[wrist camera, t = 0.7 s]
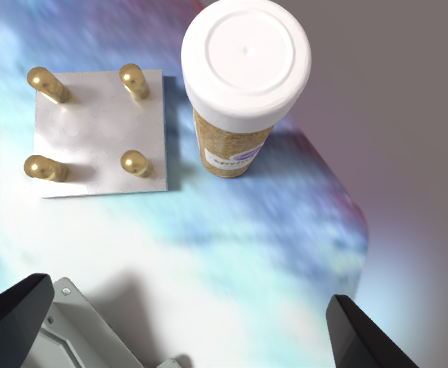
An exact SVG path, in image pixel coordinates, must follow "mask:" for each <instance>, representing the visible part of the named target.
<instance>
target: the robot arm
mask: <svg viewBox="0 0 448 368" xmlns="http://www.w3.org/2000/svg"><path fill="white" fill-rule="evenodd" d="M54 296H55V290H54V287H53V284H52V281H51V278H50V276H49V275H48V274H44V273H34V274H31V275H30V276H28V277H27V278H25V279H23V280H22V281H20V282H19V283H17V284H15V285H14V286H12V287H11V288H9V289H7V290H6V291H4V292H3V293H1V294H0V368H21V366H22V364H23V362H24V361H25V359H26V357H27V355H28V353H29V352H30V350H31V348H32V346H33V343H34V341H35V339H36V337H37V335H38V333H39V330H40V328H41V326H42V324H43V322H44V319H45V317H46V315H47V313H48V311H49V308H50V306H51V304H52V302H53V299H54ZM326 320H327V325H328V330H329V335H330V340H331V345H332V350H333V355H334V360H335V365H336V368H419V367H418V366H417V365H416V364H415V363H414V362H413V361H412V360H411V359H410V358H409V357H408V356H407V355H406V354H405V353H404V352H403V351H402V350H401V349H400V348H399V347H398V346H397V345H396V344H395V343H394V342H393V341H392V340H391V339H390V338H389V337H388V336H387V335H386V334H385V333H384V332H383V331H382V330H381V329H380V328H379V327H378V326H377V325H376V324H375V323H374V322H373V321H372V320H371V319H370V318H369V317H368V316H367V315H366V314H365V313H364V312H363V311H362V310H361V309H360V308H359V307H358V306H357V305H356V304H355V303H354V302H353V301H352V300H351V299H350V298H349V297H348V296H346V295H338V294H335V295H333V296H332V298H331V300H330V303H329V305H328V307H327V310H326Z"/></svg>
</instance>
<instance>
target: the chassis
mask: <svg viewBox="0 0 448 368" xmlns="http://www.w3.org/2000/svg"><path fill="white" fill-rule="evenodd" d="M27 81H28V83H29V85H31V86H32V87H33V88H35V89H36V112H35V147H34V155H32V156H30V157H29V158H28V159H27V160H26V161H25V164H24V170H25V173H26V174H27V175H28V176H30V177H32V178H34V181H33V197H35V198H54V197H71V196H88V195H105V194H122V193H139V192H156V191H168V172H167V145H166V118H165V91H164V74H163V72H162V69H153V70H141V69H140V68H139V66H137V65H135V64H126V65H124V66H123V67H122V68H121V69H120V71H98V72H70V73H50V72H49V71H48V70H47V69H46V68H44V67H35V68H33V69H31V70H30V71H29V73H28V75H27Z"/></svg>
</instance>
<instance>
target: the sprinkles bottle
mask: <svg viewBox="0 0 448 368" xmlns="http://www.w3.org/2000/svg"><path fill="white" fill-rule="evenodd" d="M181 61H182V70H183V76H184V82H185V87H186V92H187V95H188V97H189V100H190V101H191V103H192V105H193V118H194V124H195V129H196V135H197V140H198V144H199V148H200V157H201V161H202V163H203V165H204V166H205V168H206V169H207V170H208V171H209V172H211V173H213V174H214V175H216V176H218V177H223V178H230V177H236V176H238V175H240V174H242V173H244V172H245V171H246V170H247V169H248V167H249V166H250V164H251V162H252V160H253V159H254V158H255V156H256V155H257V153H258V152H259V150H260V149H261V147H262V146H263V144H264V142H265V140H266V138H267V136H268V135H269V133H270V132H271V130H272V128H273V127H274V125H275V124H276V123H277V122H279V121H280V120H281V119H282V118H283V117H284V116H285V115H286V114H287V113H288V112H289V110H290V109H291V107H292V106H293V105H294V103H295V101H296V100H297V99H298V97H299V96H300V94H301V92H302V91H303V89H304V87H305V85H306V83H307V80H308V78H309V75H310V69H311V50H310V45H309V41H308V39H307V36H306V34H305V32H304V30H303V28H302V27H301V25H300V24H299V22H298V21H297V20H296V19H295V18H294V17H293V16H292V15H291V14H290V13H289V12H288V11H286V10H285V9H284V8H282V7H281V6H279V5H278V4H276V3H273V2H271V1H269V0H220V1H218V2H215V3H213V4H211V5H210V6H209V7H207V8H205V9H204V10H203V11H202V12H201V13H199V14H198V15H197V16H196V18H195V19H194V20H193V21H192V23H191V24H190V26H189V28H188V30H187V32H186V34H185V37H184V40H183V45H182V51H181Z"/></svg>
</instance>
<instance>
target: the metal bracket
mask: <svg viewBox="0 0 448 368" xmlns="http://www.w3.org/2000/svg"><path fill="white" fill-rule="evenodd" d="M53 287H54V290H55V296H54V299H53V302H52V304H51V306H50V308H49V311H48V313H47V315H46V317H45V319H44V322H43V324H42V326H41V328H40V330H39V333H38V335H37V337H36V339H35V341H34V343H33V346H32V348H31V350H30V352H29V353H28V355H27V357H26V359H25V361H24V362H23V364H22V366H21V368H144V366H143V365H142V364H141V363H140V362H139V361H138V359H137V358H136V357H135V356H134V355H133V354H132V352H131V351H130V350H129V349H128V348H127V346H126V345H125V344H124V343H123V342H122V341H121V339H120V338H119V337H118V336H117V335H116V333H115V332H114V331H113V330H112V329H111V328H110V326H109V325H108V324H107V323H106V322H105V321H104V319H103V318H102V317H101V316H100V315H99V313H98V312H97V311H96V310H95V309H94V308H93V306H92V305H91V304H90V303H89V302H88V300H87V299H86V298H85V297H84V296H83V295H82V293H81V292H80V291H79V290H78V289H77V288H76V286H75V285H74V284H73V283H72V282H71V280H70V279H68V278H66V277H63V278H61V279H59V280H58V281H56V282H55V283H53ZM64 288H68V289H70V294H64V293H63V289H64ZM156 368H182V367H181V366H180V365H179V364H178V362H177V361H176V360H175V359H174V358H169V359H167V360H166V361H164V362H163V363H162V364H160V365H159V366H158V367H156Z"/></svg>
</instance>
